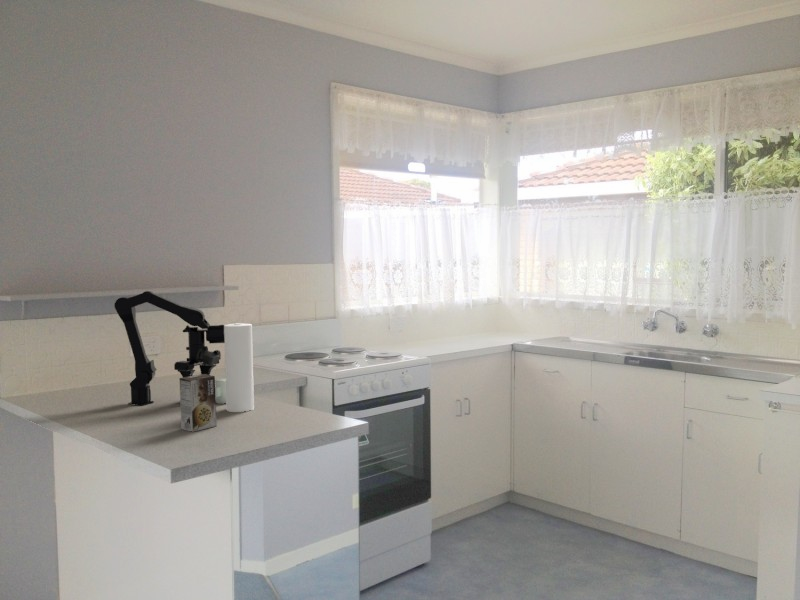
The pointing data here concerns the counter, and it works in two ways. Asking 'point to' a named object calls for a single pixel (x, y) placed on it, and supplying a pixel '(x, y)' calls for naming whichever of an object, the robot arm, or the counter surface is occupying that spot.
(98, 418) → the counter surface
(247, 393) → the paper towel roll
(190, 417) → the cookie box
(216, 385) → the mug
